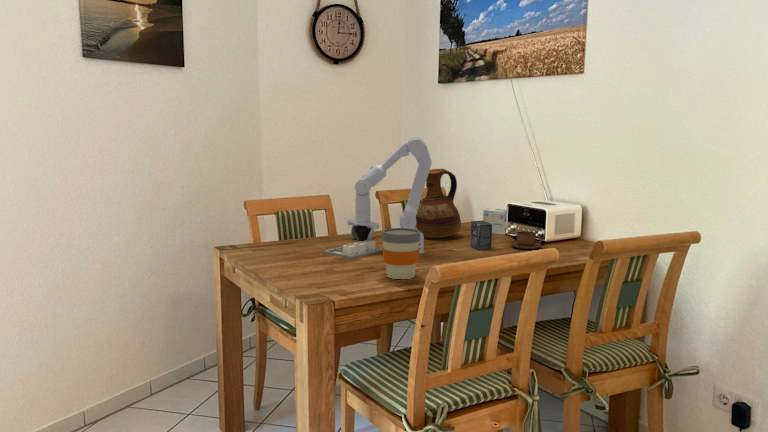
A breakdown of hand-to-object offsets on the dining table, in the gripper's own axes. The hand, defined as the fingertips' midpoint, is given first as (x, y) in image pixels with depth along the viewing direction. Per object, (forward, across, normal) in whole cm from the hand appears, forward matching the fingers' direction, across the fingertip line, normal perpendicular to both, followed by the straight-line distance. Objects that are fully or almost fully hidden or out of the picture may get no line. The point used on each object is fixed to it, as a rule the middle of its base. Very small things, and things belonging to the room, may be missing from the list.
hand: (362, 245), depth 230 cm
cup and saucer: (+3, +44, +50) cm, 66 cm away
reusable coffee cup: (+3, +34, -20) cm, 39 cm away
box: (+3, +31, +36) cm, 48 cm away
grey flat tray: (+3, 0, -6) cm, 6 cm away
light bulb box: (+3, +19, +70) cm, 73 cm away
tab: (+2, +3, -11) cm, 12 cm away
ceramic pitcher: (+3, +4, +46) cm, 46 cm away
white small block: (+2, +3, 0) cm, 4 cm away
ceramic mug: (+3, -16, +17) cm, 23 cm away
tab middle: (+2, +3, -6) cm, 7 cm away
